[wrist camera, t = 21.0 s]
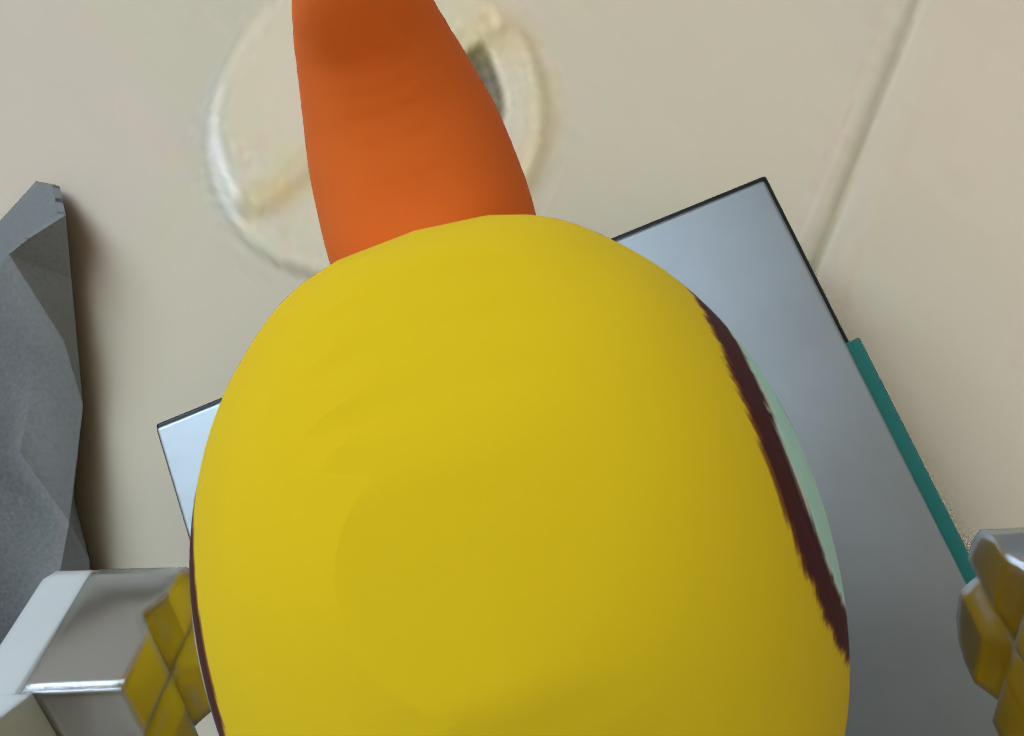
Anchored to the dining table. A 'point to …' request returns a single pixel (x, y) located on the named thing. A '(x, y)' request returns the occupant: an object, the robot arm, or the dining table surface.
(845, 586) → the scale
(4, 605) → the cloth
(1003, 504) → the dining table surface
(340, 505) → the duckling
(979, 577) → the robot arm
